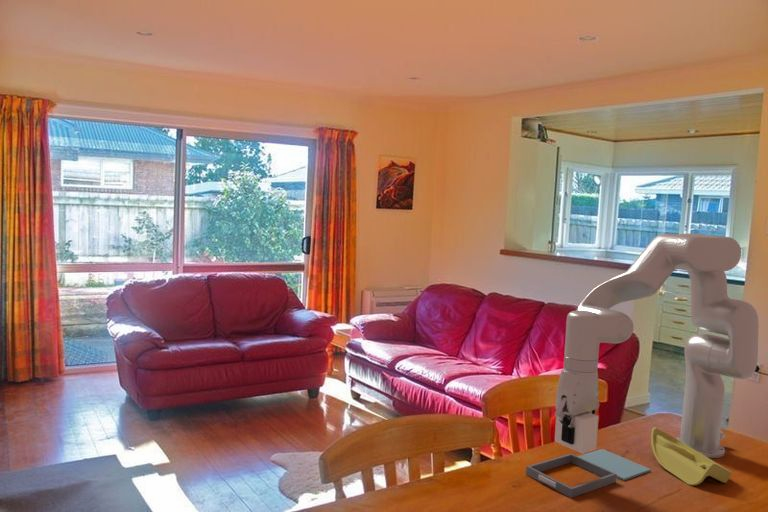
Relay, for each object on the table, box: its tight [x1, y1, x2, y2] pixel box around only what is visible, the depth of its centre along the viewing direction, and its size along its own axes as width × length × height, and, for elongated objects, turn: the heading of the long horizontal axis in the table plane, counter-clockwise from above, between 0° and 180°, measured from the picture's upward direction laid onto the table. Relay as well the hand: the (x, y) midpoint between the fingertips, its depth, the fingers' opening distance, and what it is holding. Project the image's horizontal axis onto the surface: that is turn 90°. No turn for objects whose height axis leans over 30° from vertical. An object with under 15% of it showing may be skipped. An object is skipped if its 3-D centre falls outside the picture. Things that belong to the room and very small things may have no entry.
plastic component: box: [650, 426, 733, 486], centre depth 157 cm, size 20×7×10 cm
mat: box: [577, 448, 652, 481], centre depth 157 cm, size 11×14×1 cm
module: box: [554, 410, 599, 455], centre depth 147 cm, size 5×8×8 cm, turn 35°
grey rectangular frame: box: [525, 453, 617, 499], centre depth 147 cm, size 17×13×2 cm
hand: (575, 439), depth 147 cm, fingers closed on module, 5 cm apart
